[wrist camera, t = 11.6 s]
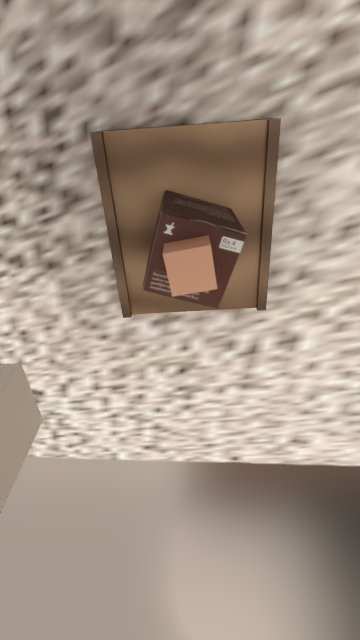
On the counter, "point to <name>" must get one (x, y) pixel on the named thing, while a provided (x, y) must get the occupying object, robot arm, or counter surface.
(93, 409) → the counter surface
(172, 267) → the tan rounded cube
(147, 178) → the dock
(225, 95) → the counter surface
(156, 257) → the box
